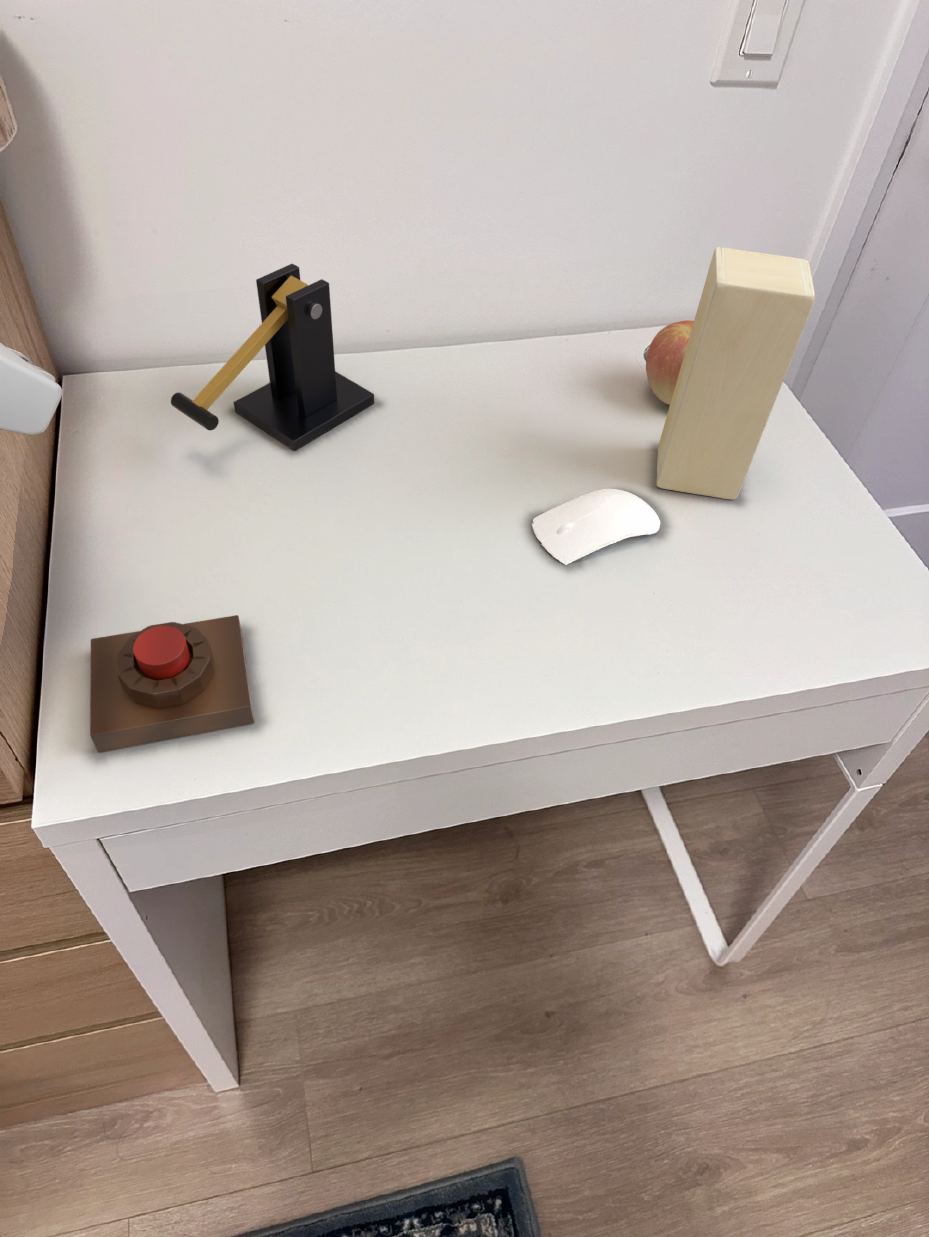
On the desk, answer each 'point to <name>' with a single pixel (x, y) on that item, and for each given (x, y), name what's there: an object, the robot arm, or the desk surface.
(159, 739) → the release housing
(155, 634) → the release button
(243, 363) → the bolt lever
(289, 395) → the bolt bracket
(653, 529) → the computer mouse
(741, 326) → the tall wooden block
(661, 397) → the apple
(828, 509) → the desk surface
